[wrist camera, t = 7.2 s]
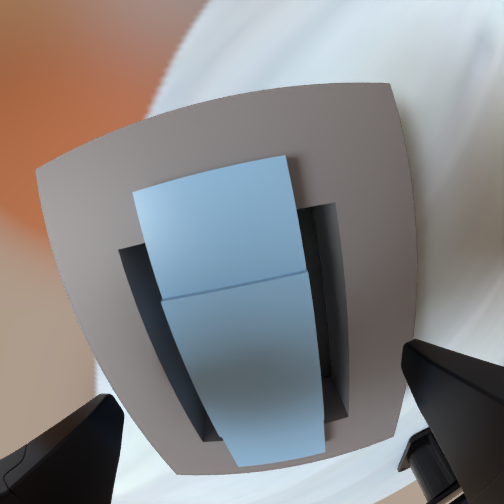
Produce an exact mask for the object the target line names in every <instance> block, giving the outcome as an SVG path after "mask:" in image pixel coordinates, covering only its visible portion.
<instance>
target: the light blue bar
mask: <svg viewBox="0 0 504 504" xmlns="http://www.w3.org/2000/svg"><path fill="white" fill-rule="evenodd" d="M132 193H133V197H134V201H135V206H136V210H137V214H138V218H139V222H140V226H141V230H142V233H143V237H144V241H145V244H146V248H147V251H148V255H149V258H150V261H151V265H152V268H153V271H154V275H155V278H156V281H157V284H158V287H159V290H160V293H161V296H162V300H161V305H162V307H163V310H164V313H165V316H166V319H167V321H168V324H169V327H170V329H171V332H172V334H173V337H174V340H175V342H176V345H177V347H178V350H179V352H180V354H181V357H182V359H183V362H184V364H185V366H186V369H187V371H188V373H189V375H190V378H191V380H192V382H193V384H194V387H195V389H196V391H197V393H198V395H199V397H200V399H201V402H202V404H203V406H204V408H205V410H206V412H207V414H208V416H209V418H210V420H211V422H212V424H213V426H214V427H215V429H216V431H217V433H218V435H219V437H222V438H223V440H224V442H225V444H226V446H227V448H228V449H229V451H230V453H231V455H232V457H233V458H234V460H235V462H236V464H237V465H238V467H244V466H253V465H262V464H269V463H276V462H282V461H288V460H293V459H298V458H303V457H308V456H312V455H316V454H320V453H324V452H325V435H324V406H323V393H322V382H321V371H320V361H319V351H318V342H317V333H316V325H315V317H314V309H313V302H312V294H311V287H310V280H309V274H308V271H307V269H306V263H305V257H304V250H303V244H302V238H301V233H300V227H299V221H298V216H297V210H296V205H295V200H294V195H293V190H292V185H291V180H290V175H289V170H288V165H287V160H286V156H285V155H283V156H277V157H271V158H266V159H261V160H256V161H251V162H246V163H241V164H237V165H232V166H227V167H223V168H219V169H214V170H210V171H206V172H202V173H198V174H194V175H190V176H187V177H183V178H179V179H175V180H172V181H168V182H165V183H161V184H158V185H154V186H151V187H148V188H145V189H141V190H138V191H135V192H132Z"/></svg>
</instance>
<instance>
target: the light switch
mask: <svg viewBox="0 0 504 504" xmlns="http://www.w3.org/2000/svg"><path fill="white" fill-rule="evenodd" d="M283 155H285V156H286V160H287V165H288V170H289V175H290V180H291V185H292V190H293V195H294V200H295V205H296V209H301V208H307V207H312V209H313V215H314V221H315V227H316V234H317V240H318V247H319V254H320V261H321V268H322V276H323V284H324V293H325V302H326V311H327V321H328V332H329V344H330V358H331V374H332V377H328V378H324V379H321V382H322V393H323V406H324V435H325V452H324V453H320V454H316V455H312V456H308V457H303V458H298V459H293V460H288V461H282V462H276V463H269V464H262V465H253V466H244V467H238V465H237V464H236V462H235V460H234V458H233V457H232V455H231V453H230V451H229V449H228V448H227V446H226V444H225V442H224V440H223V438H222V437H219V435H218V433H217V431H216V429H215V427H214V426H213V424H212V422H211V420H210V418H209V416H208V414H207V412H206V410H205V408H204V406H203V404H202V402H201V399H200V397H199V395H198V393H197V391H196V389H195V387H194V384H193V382H192V380H191V378H190V375H189V373H188V371H187V369H186V366H185V364H184V362H183V359H182V357H181V354H180V352H179V350H178V347H177V345H176V342H175V340H174V337H173V334H172V332H171V329H170V327H169V324H168V321H167V319H166V316H165V313H164V310H163V307H162V305H161V300H162V296H161V293H160V290H159V287H158V284H157V281H156V278H155V275H154V271H153V268H152V265H151V261H150V258H149V255H148V251H147V248H146V244H145V241H144V237H143V233H142V230H141V226H140V222H139V218H138V214H137V210H136V206H135V201H134V197H133V193H132V192H135V191H138V190H141V189H145V188H148V187H151V186H154V185H158V184H161V183H165V182H168V181H172V180H175V179H179V178H183V177H187V176H190V175H194V174H198V173H202V172H206V171H210V170H214V169H219V168H223V167H227V166H232V165H237V164H241V163H246V162H251V161H256V160H261V159H266V158H271V157H277V156H283ZM36 177H37V184H38V190H39V196H40V201H41V206H42V211H43V215H44V220H45V225H46V229H47V233H48V237H49V241H50V244H51V248H52V251H53V255H54V258H55V261H56V264H57V268H58V271H59V274H60V277H61V279H62V282H63V285H64V288H65V291H66V293H67V296H68V298H69V301H70V304H71V306H72V309H73V311H74V313H75V316H76V318H77V321H78V323H79V325H80V327H81V329H82V332H83V334H84V336H85V338H86V340H87V342H88V344H89V346H90V348H91V350H92V352H93V354H94V356H95V358H96V360H97V362H98V364H99V366H100V367H101V369H102V371H103V373H104V375H105V376H106V378H107V380H108V382H109V383H110V385H111V387H112V388H113V390H114V392H115V393H116V395H117V396H118V398H119V400H120V401H121V403H122V404H123V406H124V407H125V409H126V410H127V412H128V413H129V415H130V416H131V418H132V419H133V421H134V422H135V423H136V425H137V426H138V428H139V429H140V430H141V432H142V433H143V434H144V436H145V437H146V438H147V440H148V441H149V442H150V444H151V445H152V446H153V447H154V449H155V450H156V451H157V452H158V453H159V455H160V456H161V457H162V458H163V459H164V461H165V462H166V463H167V464H168V465H169V466H170V468H171V469H172V470H173V471H174V472H175V473H176V474H177V475H224V474H239V473H250V472H259V471H267V470H274V469H281V468H287V467H292V466H297V465H302V464H307V463H312V462H316V461H320V460H324V459H328V458H332V457H336V456H339V455H343V454H346V453H349V452H352V451H356V450H359V449H362V448H365V447H367V446H370V445H373V444H376V443H378V442H381V441H384V440H386V439H389V438H391V437H394V433H395V430H396V426H397V422H398V419H399V415H400V410H401V406H402V402H403V397H404V393H405V388H406V382H407V381H406V379H405V376H404V374H403V372H402V369H401V358H402V350H403V345H404V344H405V343H406V342H408V341H411V340H413V335H414V325H415V312H416V295H417V240H416V222H415V209H414V199H413V190H412V182H411V175H410V169H409V162H408V157H407V151H406V146H405V141H404V136H403V131H402V127H401V122H400V118H399V114H398V110H397V106H396V103H395V99H394V96H393V92H392V89H391V85H390V83H329V84H313V85H301V86H291V87H283V88H275V89H268V90H261V91H255V92H249V93H244V94H238V95H233V96H228V97H223V98H219V99H214V100H210V101H206V102H202V103H198V104H194V105H190V106H187V107H183V108H180V109H176V110H173V111H169V112H166V113H163V114H160V115H157V116H154V117H151V118H148V119H145V120H142V121H139V122H136V123H134V124H131V125H129V126H126V127H123V128H121V129H118V130H115V131H113V132H111V133H108V134H106V135H103V136H101V137H99V138H96V139H94V140H92V141H90V142H88V143H85V144H84V145H81V146H79V147H77V148H75V149H73V150H71V151H69V152H67V153H65V154H63V155H61V156H59V157H57V158H55V159H54V160H52V161H50V162H48V163H46V164H45V165H43V166H41V167H39V168H38V169H36Z"/></svg>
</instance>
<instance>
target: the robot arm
mask: <svg viewBox="0 0 504 504" xmlns="http://www.w3.org/2000/svg"><path fill="white" fill-rule="evenodd" d="M401 369H402V372H403V374H404V376H405V379H406V381H407V383H408V385H409V387H410V390H411V392H412V394H413V397H414V399H415V401H416V403H417V406H418V408H419V410H420V411H421V413H422V415H423V417H424V418H425V420H426V422H427V424H428V425H429V427H430V429H428V430H426V431H424V432H422V433H420V434H418V435H416V436H414V437H412V438H411V439H410V440H409V442H408V444H407V447H406V449H405V452H404V454H403V457H402V459H401V461H400V464H399V466H398V468H397V469H398V472H401V471H404V470H406V469H408V468H410V467H411V469H412V471H413V473H414V475H415V477H416V479H417V481H418V483H419V485H420V487H421V489H422V492H423V494H424V496H425V498H426V500H427V502H428V503H426V504H445V503H446V502H448V501H450V500H451V499H452V498H453V497H455V496H457V495H458V494H459V493H461V492H462V491H463V492H464V493H463V494H462V495H461V496H459V497H458V498H457V499H455V500H454V501H452V502H451V503H449V504H504V367H503V366H500V365H496V364H493V363H490V362H486V361H483V360H480V359H477V358H473V357H470V356H467V355H464V354H461V353H458V352H455V351H451V350H448V349H445V348H442V347H439V346H436V345H433V344H430V343H427V342H424V341H421V340H418V339H414V340H411V341H408V342H406V343H405V344H404V345H403V350H402V358H401ZM123 424H124V412H123V410H122V409H121V407H120V406H119V404H118V403H117V401H116V400H115V398H114V397H113V396H112V395H111V394H99V395H97V396H96V397H95V398H93V399H92V400H90V401H89V402H88V403H86V404H85V405H83V406H82V407H80V408H79V409H78V410H76V411H75V412H73V413H72V414H70V415H69V416H67V417H66V418H65V419H63V420H62V421H60V422H59V423H57V424H56V425H55V426H53V427H51V428H50V429H48V430H47V431H45V432H44V433H43V434H41V435H40V436H38V437H36V438H35V439H34V440H32V441H30V442H29V443H28V444H26V445H24V446H23V447H21V448H20V449H18V450H16V451H15V452H13V453H12V454H10V455H8V456H7V457H5V458H3V459H1V460H0V504H111V500H112V494H113V488H114V482H115V477H116V472H117V467H118V462H119V457H120V450H121V441H122V432H123Z"/></svg>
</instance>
